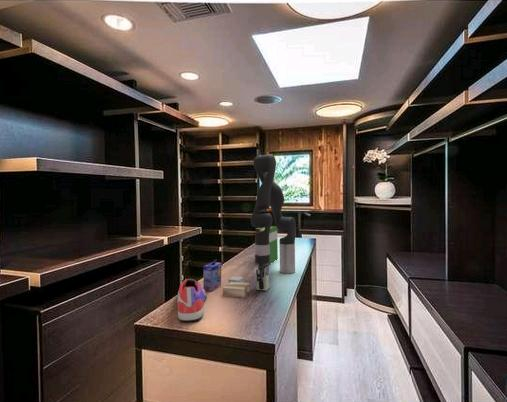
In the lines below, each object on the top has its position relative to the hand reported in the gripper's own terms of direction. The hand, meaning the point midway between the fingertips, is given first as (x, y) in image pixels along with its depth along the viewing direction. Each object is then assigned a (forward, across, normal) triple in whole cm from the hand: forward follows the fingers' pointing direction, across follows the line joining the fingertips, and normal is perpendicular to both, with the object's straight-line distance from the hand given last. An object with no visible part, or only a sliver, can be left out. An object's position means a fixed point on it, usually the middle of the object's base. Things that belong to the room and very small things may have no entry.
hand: (263, 287), depth 143 cm
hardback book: (+2, -57, -13) cm, 58 cm away
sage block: (+1, 0, 0) cm, 1 cm away
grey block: (+1, -2, -15) cm, 15 cm away
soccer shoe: (+1, +28, -24) cm, 37 cm away
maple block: (+1, +9, -11) cm, 14 cm away
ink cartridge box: (+1, +5, -25) cm, 26 cm away
